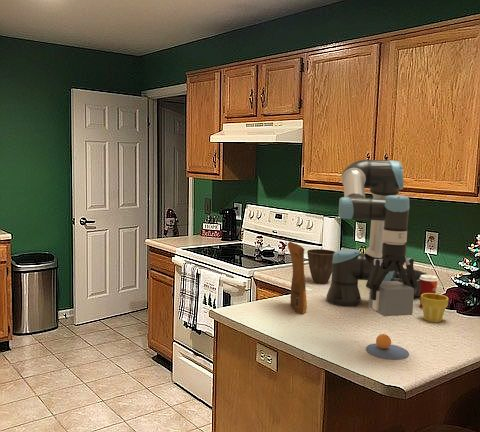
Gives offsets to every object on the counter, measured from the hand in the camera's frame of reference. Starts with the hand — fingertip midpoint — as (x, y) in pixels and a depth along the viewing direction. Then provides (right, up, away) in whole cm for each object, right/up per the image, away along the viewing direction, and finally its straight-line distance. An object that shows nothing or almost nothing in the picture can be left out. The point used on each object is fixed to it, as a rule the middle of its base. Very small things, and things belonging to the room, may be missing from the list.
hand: (390, 308), depth 173 cm
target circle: (0, -15, +2) cm, 15 cm away
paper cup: (+32, -10, +55) cm, 65 cm away
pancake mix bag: (-26, -9, +47) cm, 55 cm away
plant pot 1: (-8, -4, +95) cm, 96 cm away
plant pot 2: (+28, -11, +38) cm, 49 cm away
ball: (-1, -12, +4) cm, 13 cm away
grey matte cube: (0, -1, 0) cm, 1 cm away
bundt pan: (+28, -7, +79) cm, 84 cm away
